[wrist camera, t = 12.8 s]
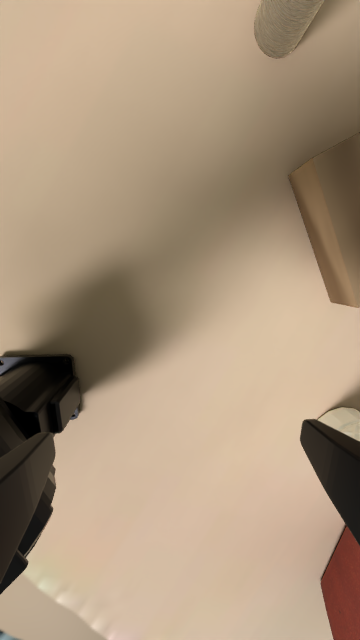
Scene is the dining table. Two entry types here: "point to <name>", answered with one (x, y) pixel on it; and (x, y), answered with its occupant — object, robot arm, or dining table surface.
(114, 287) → the dining table surface
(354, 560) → the plant pot
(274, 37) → the t key
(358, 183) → the socket block
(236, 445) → the dining table surface
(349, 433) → the white cup
